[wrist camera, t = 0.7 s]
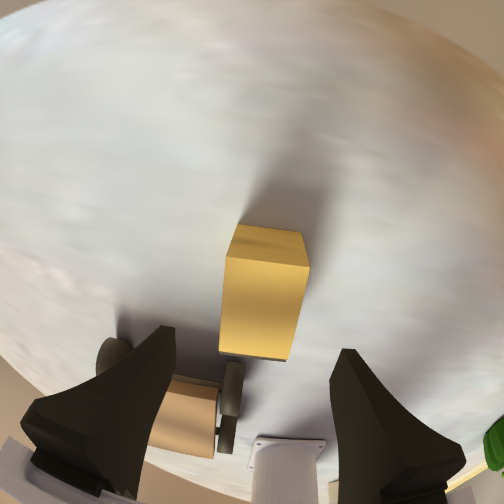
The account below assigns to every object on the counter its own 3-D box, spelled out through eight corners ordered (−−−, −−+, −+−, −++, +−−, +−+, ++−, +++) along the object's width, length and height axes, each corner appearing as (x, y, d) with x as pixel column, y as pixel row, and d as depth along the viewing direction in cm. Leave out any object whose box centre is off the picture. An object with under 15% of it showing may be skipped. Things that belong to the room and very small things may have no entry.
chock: (284, 318, 21) (285, 366, 17) (228, 310, 21) (218, 358, 17) (301, 232, 19) (310, 267, 14) (237, 223, 19) (225, 256, 14)
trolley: (235, 426, 27) (230, 464, 23) (132, 405, 27) (118, 439, 23) (246, 352, 23) (241, 398, 18) (113, 327, 23) (88, 364, 18)
